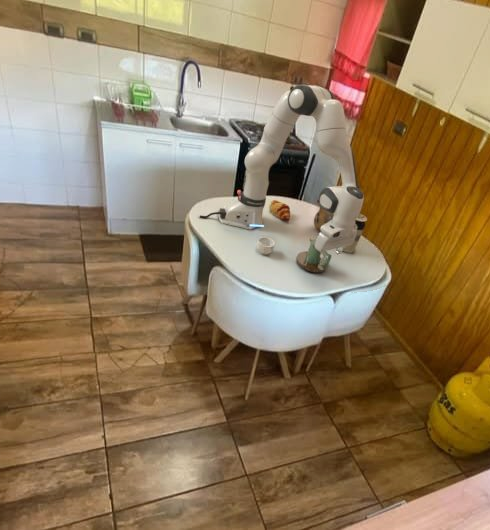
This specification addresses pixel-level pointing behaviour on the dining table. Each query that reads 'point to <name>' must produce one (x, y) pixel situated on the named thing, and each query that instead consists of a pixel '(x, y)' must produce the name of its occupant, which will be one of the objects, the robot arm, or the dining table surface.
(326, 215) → the ceramic vessel
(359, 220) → the travel mug
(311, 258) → the green mug on saucer
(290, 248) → the dining table surface
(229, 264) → the dining table surface
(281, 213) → the croissant
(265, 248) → the teacup
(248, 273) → the dining table surface
